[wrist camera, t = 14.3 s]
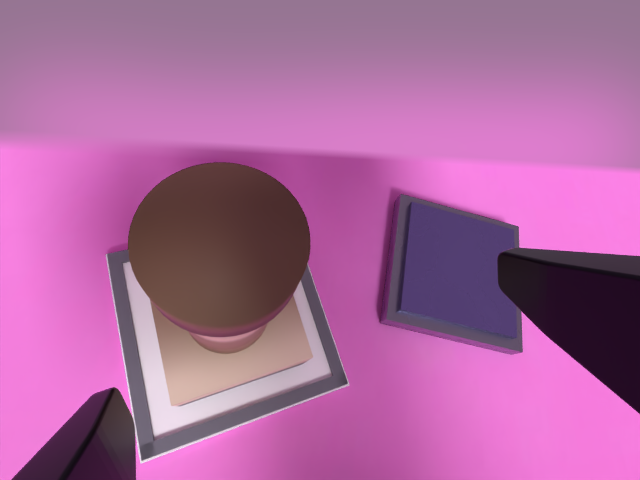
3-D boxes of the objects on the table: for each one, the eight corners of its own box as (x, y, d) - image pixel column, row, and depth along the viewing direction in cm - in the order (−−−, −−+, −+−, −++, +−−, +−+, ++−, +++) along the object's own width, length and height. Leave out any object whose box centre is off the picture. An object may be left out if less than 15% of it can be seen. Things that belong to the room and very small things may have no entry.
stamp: (302, 364, 20) (373, 317, 10) (180, 406, 18) (112, 402, 8) (269, 256, 22) (299, 123, 12) (155, 285, 20) (74, 157, 10)
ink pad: (511, 354, 23) (527, 351, 22) (379, 323, 22) (388, 317, 21) (508, 232, 26) (522, 223, 25) (394, 201, 25) (403, 190, 24)
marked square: (348, 385, 20) (350, 384, 20) (142, 462, 17) (139, 464, 17) (290, 215, 23) (291, 212, 23) (107, 256, 20) (104, 252, 20)
